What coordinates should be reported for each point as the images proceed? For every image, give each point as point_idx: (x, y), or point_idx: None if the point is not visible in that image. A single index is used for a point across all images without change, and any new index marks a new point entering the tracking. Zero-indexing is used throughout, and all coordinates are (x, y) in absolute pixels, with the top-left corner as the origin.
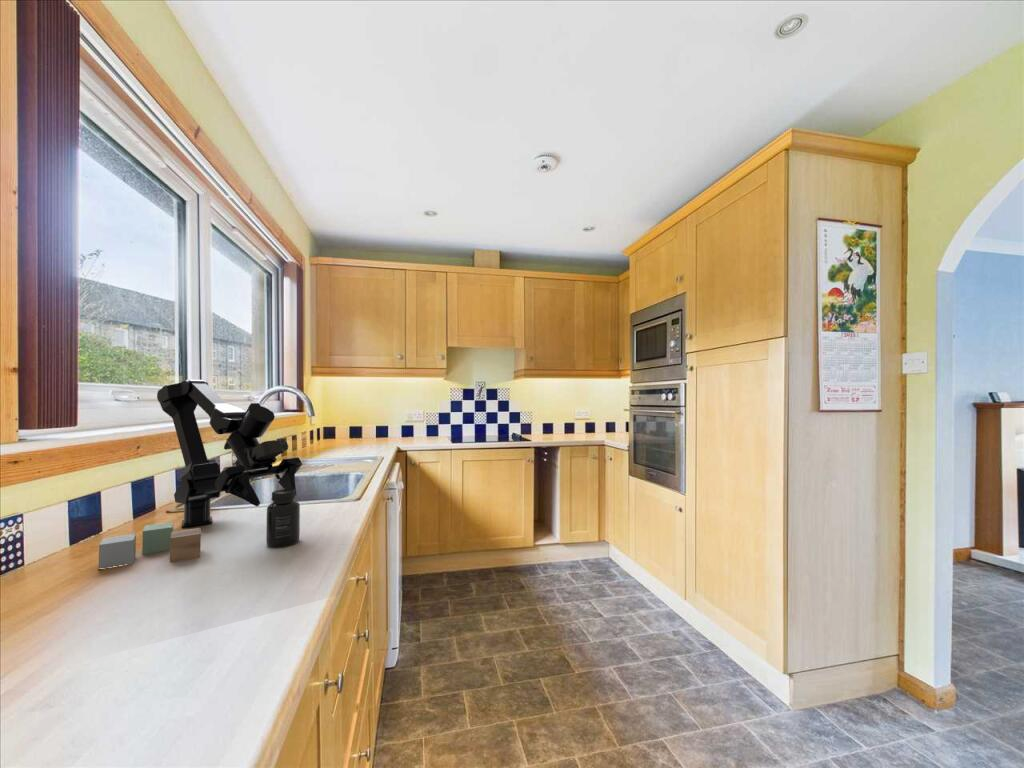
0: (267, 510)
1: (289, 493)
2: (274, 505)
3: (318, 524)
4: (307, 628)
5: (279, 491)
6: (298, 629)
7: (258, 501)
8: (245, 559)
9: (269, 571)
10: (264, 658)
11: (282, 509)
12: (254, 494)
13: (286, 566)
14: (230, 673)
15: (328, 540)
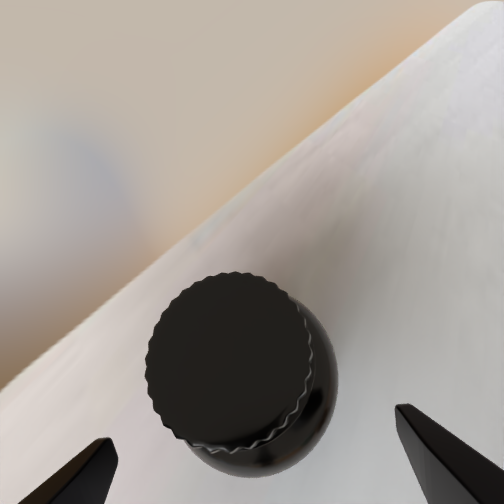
0: (337, 387)
1: (229, 279)
2: (312, 339)
3: None
4: (401, 65)
5: (253, 357)
6: (410, 67)
7: (412, 411)
8: (416, 335)
9: (386, 215)
10: (455, 48)
11: (290, 296)
12: (474, 472)
13: (347, 215)
14: (490, 44)
15: None
